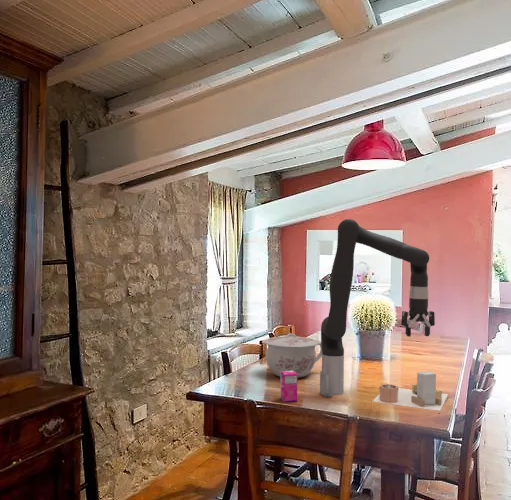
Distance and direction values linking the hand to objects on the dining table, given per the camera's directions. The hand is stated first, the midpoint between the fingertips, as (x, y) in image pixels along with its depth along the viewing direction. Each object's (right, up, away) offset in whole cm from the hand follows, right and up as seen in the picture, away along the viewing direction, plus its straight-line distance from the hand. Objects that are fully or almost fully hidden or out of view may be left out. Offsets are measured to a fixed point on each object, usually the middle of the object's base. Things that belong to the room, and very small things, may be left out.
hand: (417, 336), depth 220 cm
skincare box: (0, -25, -11) cm, 27 cm away
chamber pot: (-50, -26, +39) cm, 69 cm away
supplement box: (-54, -26, -4) cm, 60 cm away
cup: (-14, -25, -6) cm, 29 cm away
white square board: (-3, -26, -2) cm, 27 cm away
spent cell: (-14, -25, -6) cm, 29 cm away
